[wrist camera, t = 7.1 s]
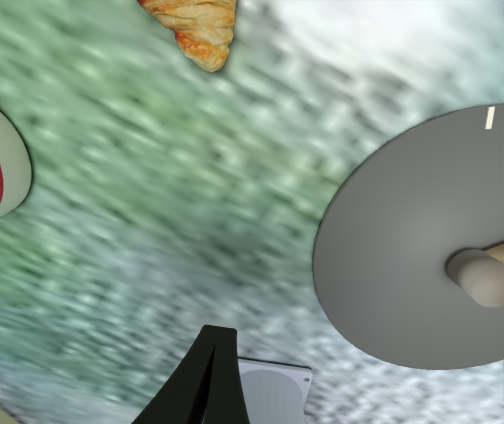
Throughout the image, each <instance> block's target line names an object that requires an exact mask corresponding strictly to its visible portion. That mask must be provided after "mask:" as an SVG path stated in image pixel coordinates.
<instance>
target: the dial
mask: <svg viewBox="0 0 504 424" xmlns="http://www.w3.org/2000/svg"><path fill="white" fill-rule="evenodd" d="M502 244H504V104H497V105H484V106H477V107H472V108H467V109H462V110H458V111H454V112H451V113H448V114H445V115H442V116H439V117H436V118H433V119H430V120H428V121H426V122H424V123H421V124H419V125H417V126H415V127H413V128H411V129H409V130H407V131H405V132H404V133H402V134H400V135H399V136H397V137H395V138H394V139H392V140H390V141H389V142H387V143H386V144H385V145H383V146H382V147H381V148H379V149H378V150H377V151H375V152H374V153H373V154H372V155H370V156H369V157H368V158H367V159H366V160H365V161H364V162H363V163H362V164H361V165H360V166H359V167H358V168H357V169H356V170H354V171H353V172H352V174H351V175H350V176H349V177H348V179H347V180H346V181H345V182H344V183H343V185H342V186H341V187H340V188H339V190H338V191H337V193H336V195H335V196H334V198H333V199H332V201H331V202H330V204H329V206H328V208H327V210H326V212H325V214H324V216H323V219H322V221H321V223H320V226H319V229H318V233H317V236H316V239H315V245H314V252H313V275H314V281H315V287H316V290H317V293H318V297H319V300H320V303H321V306H322V308H323V310H324V312H325V314H326V315H327V317H328V319H329V320H330V322H331V323H332V324H333V326H334V327H335V329H336V330H337V331H338V332H339V333H340V334H341V335H342V336H343V337H344V338H345V339H346V340H347V341H349V342H350V343H351V344H353V345H354V346H355V347H357V348H358V349H360V350H362V351H363V352H365V353H367V354H369V355H371V356H373V357H375V358H378V359H380V360H382V361H385V362H389V363H392V364H395V365H399V366H404V367H409V368H416V369H426V370H451V369H462V368H469V367H475V366H481V365H485V364H489V363H493V362H497V361H500V360H503V359H504V305H503V306H500V307H485V306H482V305H480V304H478V303H477V302H476V301H475V300H474V299H472V298H471V297H470V296H469V295H468V294H467V293H466V292H465V291H463V290H462V289H461V288H460V287H459V286H458V285H457V284H455V283H454V282H453V281H452V280H451V279H450V278H449V276H448V274H447V267H448V264H449V262H450V261H451V260H452V258H453V257H455V256H456V255H457V254H459V253H461V252H463V251H466V250H470V249H478V250H482V251H486V250H489V249H491V248H494V247H497V246H499V245H502Z"/></svg>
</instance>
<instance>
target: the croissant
mask: <svg viewBox="0 0 504 424" xmlns="http://www.w3.org/2000/svg"><path fill="white" fill-rule="evenodd" d="M137 1H138V3H139V4H140V6H141V7H143V8H144V9H145V10H146V11H147V12H148V13H150V14H151V15H152V16H155V17H156V18H157V19H158V20H159V22H160V23H161V24H162V25H163V26H164V27H165V28H169V29H172V30H174V32H175V39H176V41H177V43H178V45H179V47H180V49H181V50H182V52H183V53H184V55H185V57H189V58H190V59H192V60H193V61H194V62H195V63H196V64H197V65H198V66H199V67H200V68H202V69H203V70H205V71H209V72H212V73H213V72H214V71H217V70H221V69H222V67H223V65H224V63H225V62H226V60H227V57H228V54H229V52H230V49H229V47H228V44H230V43H231V42H232V38H233V28H234V25H235V8H236V1H237V0H137Z"/></svg>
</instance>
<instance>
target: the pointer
mask: <svg viewBox="0 0 504 424" xmlns="http://www.w3.org/2000/svg"><path fill="white" fill-rule="evenodd" d="M447 274H448V276H449V278H450V279H451V280H452V281H453V282H454V283H455V284H457V285H458V286H459V287H460V288H461V289H462V290H463V291H465V292H466V293H467V294H468V295H469V296H470V297H471V298H472V299H474V300H475V301H476V302H477V303H478V304H480V305H482V306H485V307H500V306H503V305H504V244H502V245H499V246H497V247H494V248H491V249H489V250H486V251H482V250H478V249H470V250H466V251H463V252H461V253H459V254H457V255H456V256H455V257H453V258H452V260H451V261H450V262H449V264H448V267H447Z"/></svg>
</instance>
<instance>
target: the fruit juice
mask: <svg viewBox="0 0 504 424" xmlns="http://www.w3.org/2000/svg"><path fill="white" fill-rule="evenodd" d="M30 184H31V164H30V160H29V156H28V153H27V150H26V148H25V145H24V143H23V141H22V139H21V137H20V136H19V134H18V132H17V131H16V129H15V128H14V127H13V125H12V124H11V123H10V122H9V120H8V119H7V118H6V117H5V116H4V115H3V114H2V113H1V112H0V217H1V216H3V215H5V214H7V213H9V212H10V211H12V210H13V209H15V208H16V207H17V206H18V205H19V204H20V203H21V202H22V201H23V200H24V199H25V197H26V195H27V193H28V191H29V188H30Z"/></svg>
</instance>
